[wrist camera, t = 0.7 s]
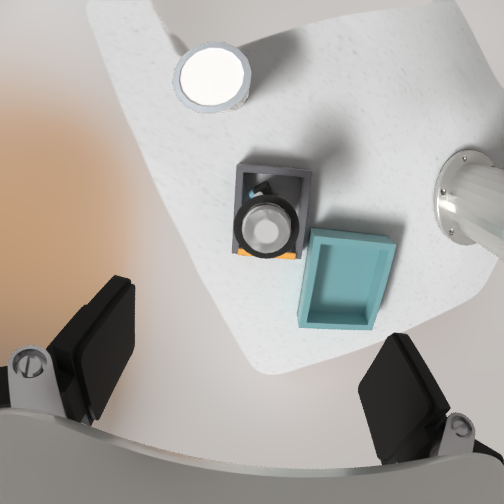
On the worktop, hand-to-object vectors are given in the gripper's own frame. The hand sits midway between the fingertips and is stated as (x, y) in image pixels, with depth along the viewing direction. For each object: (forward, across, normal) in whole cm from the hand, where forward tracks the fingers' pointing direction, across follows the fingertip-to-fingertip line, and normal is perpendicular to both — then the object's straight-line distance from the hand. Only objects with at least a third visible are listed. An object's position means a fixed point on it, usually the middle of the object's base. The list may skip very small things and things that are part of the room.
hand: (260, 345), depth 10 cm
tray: (+23, -12, +6) cm, 27 cm away
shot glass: (+24, +7, -11) cm, 27 cm away
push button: (+24, -1, +1) cm, 24 cm away
